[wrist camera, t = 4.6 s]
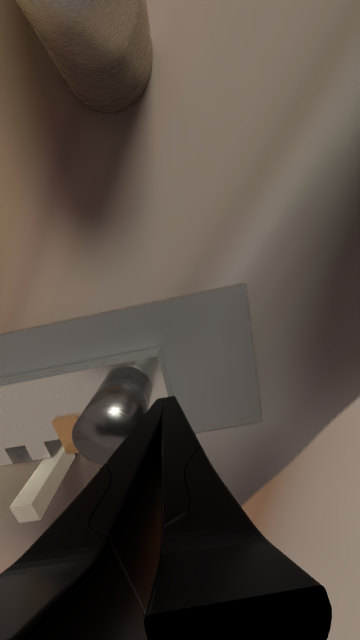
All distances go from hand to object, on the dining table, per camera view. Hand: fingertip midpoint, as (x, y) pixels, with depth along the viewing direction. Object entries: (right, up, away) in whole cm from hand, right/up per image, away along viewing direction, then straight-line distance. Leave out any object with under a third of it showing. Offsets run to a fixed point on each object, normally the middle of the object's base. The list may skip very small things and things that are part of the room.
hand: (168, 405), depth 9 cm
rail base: (-4, 0, +4) cm, 6 cm away
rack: (-6, -1, +4) cm, 8 cm away
